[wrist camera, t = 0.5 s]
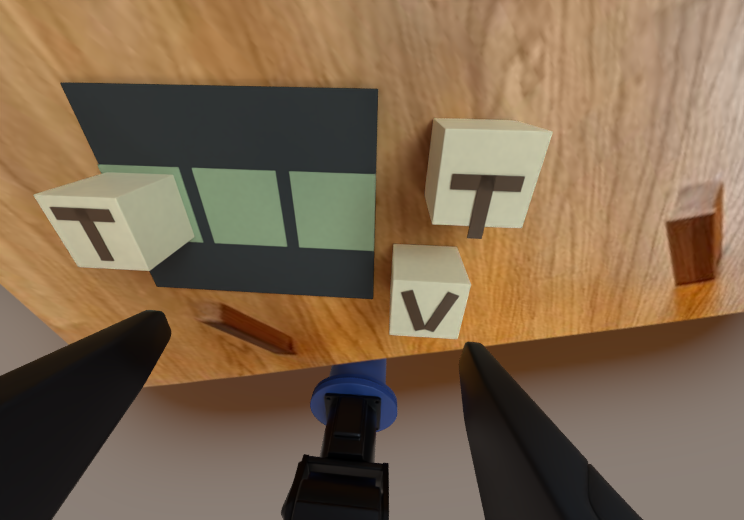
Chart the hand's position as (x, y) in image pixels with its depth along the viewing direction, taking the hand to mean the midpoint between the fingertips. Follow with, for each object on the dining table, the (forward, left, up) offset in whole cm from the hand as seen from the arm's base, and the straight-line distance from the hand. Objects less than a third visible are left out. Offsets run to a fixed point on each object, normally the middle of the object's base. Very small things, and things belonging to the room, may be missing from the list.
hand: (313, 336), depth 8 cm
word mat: (-2, +9, -14) cm, 17 cm away
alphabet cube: (-2, +16, -14) cm, 21 cm away
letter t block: (+2, -7, -14) cm, 16 cm away
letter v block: (-7, -5, -14) cm, 16 cm away
